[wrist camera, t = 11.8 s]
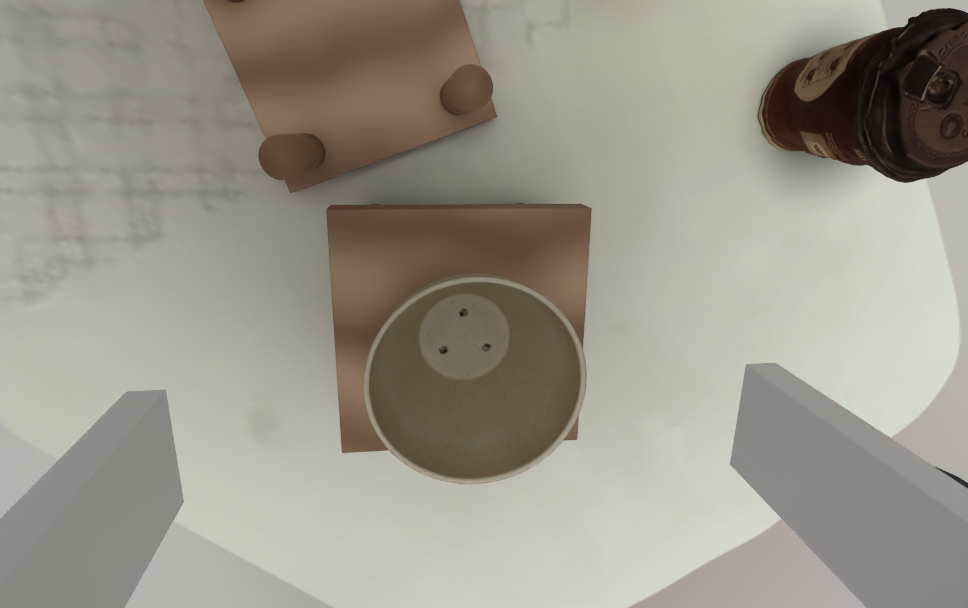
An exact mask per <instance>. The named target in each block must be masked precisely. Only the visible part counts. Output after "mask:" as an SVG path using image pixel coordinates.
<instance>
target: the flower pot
mask: <svg viewBox="0 0 968 608" xmlns="http://www.w3.org/2000/svg"><path fill="white" fill-rule="evenodd" d="M460 310H462V311H463V315H462V316H461V315H460ZM485 344H489V345H490V346H485ZM445 349H447V352H445V353H443V351H444V350H445ZM585 390H586V363H585V357H584V352H583V349H582V346H581V343H580V340H579V338H578V336H577V334H576V332H575V330H574V328H573V326H572V325H571V323H570V322H569V321H568V319H567V318H566V316H565V315H564V314H563V313H562V312H561V311H560V310H559V309H558V308H557V307H556V306H555V305H554V304H553V303H552V302H551V301H550V300H548V299H547V298H546V297H544V296H543V295H542V294H540V293H539V292H537V291H535V290H534V289H532V288H530V287H528V286H526V285H524V284H522V283H520V282H517V281H514V280H512V279H509V278H505V277H502V276H496V275H491V274H480V273H471V274H460V275H454V276H450V277H446V278H443V279H440V280H437V281H435V282H433V283H430V284H428V285H426V286H424V287H423V288H421V289H419V290H418V291H416V292H415V293H413V294H412V295H411V296H409V297H408V298H407V299H406V300H404V301H403V302H402V303H401V304H400V305H399V306H398V307H397V308H396V309H395V310H394V311H393V312H392V314H391V315H390V316H389V317H388V319H387V320H386V321H385V323H384V324H383V326H382V327H381V329H380V331H379V332H378V334H377V336H376V338H375V340H374V342H373V344H372V346H371V349H370V352H369V355H368V358H367V362H366V367H365V372H364V399H365V404H366V409H367V412H368V415H369V418H370V421H371V423H372V425H373V428H374V429H375V431H376V433H377V435H378V436H379V438H380V439H381V441H382V442H383V444H384V445H385V446H386V447H387V448H388V449H389V451H390V452H391V453H392V454H393V455H395V456H396V457H397V458H398V459H399V460H401V461H402V462H403V463H404V464H406V465H407V466H409V467H411V468H412V469H414V470H416V471H418V472H420V473H422V474H424V475H426V476H429V477H432V478H434V479H438V480H441V481H446V482H452V483H458V484H480V483H489V482H494V481H499V480H502V479H506V478H509V477H512V476H515V475H517V474H519V473H522V472H524V471H526V470H528V469H530V468H531V467H533V466H535V465H536V464H538V463H539V462H541V461H542V460H543V459H545V458H546V457H547V456H548V455H550V454H551V453H552V452H553V451H554V450H555V449H556V448H557V447H558V446H559V445H560V444H561V442H562V441H563V440H564V439H565V437H566V436H567V435H568V433H569V432H570V430H571V428H572V426H573V425H574V423H575V421H576V419H577V417H578V415H579V412H580V410H581V407H582V403H583V399H584V396H585Z"/></svg>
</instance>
